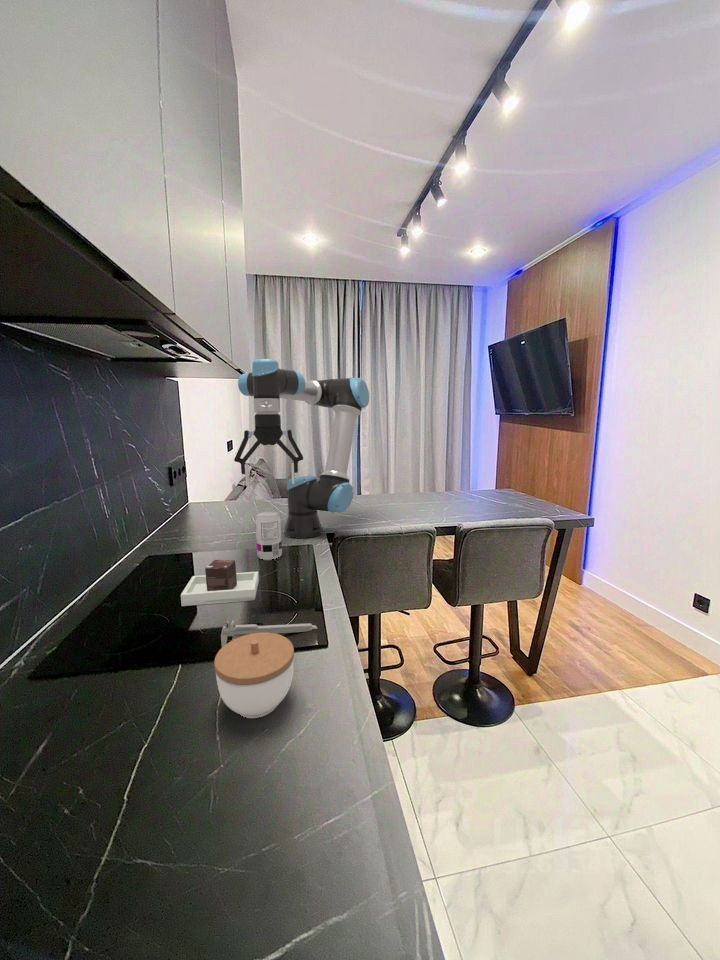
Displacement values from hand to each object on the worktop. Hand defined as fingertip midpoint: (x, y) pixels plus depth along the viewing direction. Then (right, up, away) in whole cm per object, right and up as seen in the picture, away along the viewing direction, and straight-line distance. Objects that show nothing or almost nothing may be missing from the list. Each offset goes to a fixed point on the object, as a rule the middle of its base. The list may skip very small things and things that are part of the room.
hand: (270, 484), depth 120 cm
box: (-10, -29, -13) cm, 33 cm away
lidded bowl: (+10, -36, -54) cm, 66 cm away
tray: (-10, -29, -13) cm, 34 cm away
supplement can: (-3, -25, +14) cm, 29 cm away
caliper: (+8, -33, -35) cm, 49 cm away
